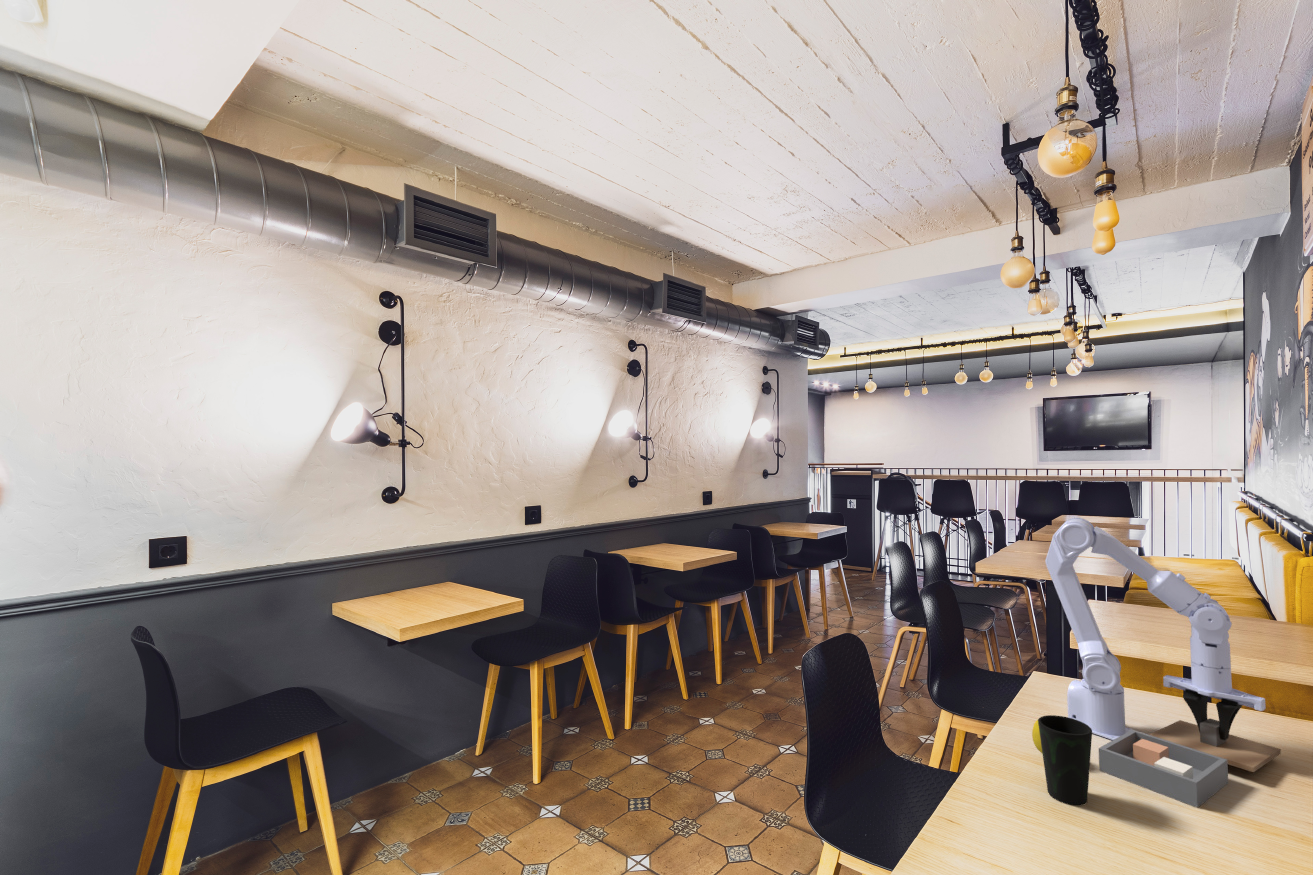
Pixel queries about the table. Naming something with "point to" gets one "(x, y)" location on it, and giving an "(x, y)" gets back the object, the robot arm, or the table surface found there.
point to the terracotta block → (1149, 751)
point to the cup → (1066, 758)
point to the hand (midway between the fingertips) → (1213, 735)
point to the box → (1206, 770)
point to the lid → (1219, 744)
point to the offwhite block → (1175, 767)
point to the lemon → (1036, 736)
